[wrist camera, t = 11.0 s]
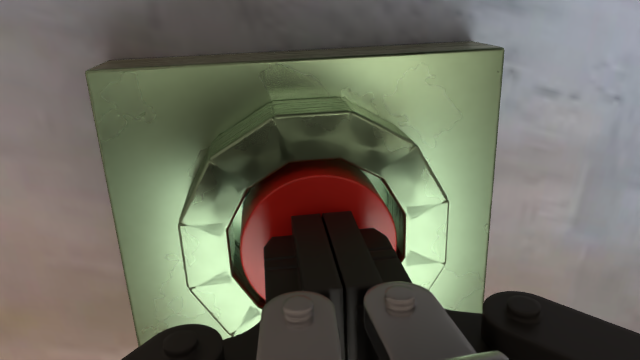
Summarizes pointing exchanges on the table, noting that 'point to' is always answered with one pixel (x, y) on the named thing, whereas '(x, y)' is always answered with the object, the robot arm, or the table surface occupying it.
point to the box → (288, 147)
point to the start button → (306, 207)
